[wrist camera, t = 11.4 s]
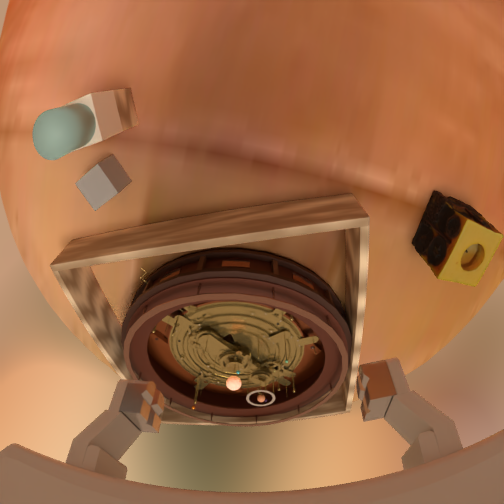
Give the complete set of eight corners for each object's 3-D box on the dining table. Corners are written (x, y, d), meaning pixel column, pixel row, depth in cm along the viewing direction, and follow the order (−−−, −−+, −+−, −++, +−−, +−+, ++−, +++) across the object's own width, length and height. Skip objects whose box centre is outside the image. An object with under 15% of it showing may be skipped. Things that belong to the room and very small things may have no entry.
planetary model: (230, 179, 41) (220, 214, 31) (380, 340, 58) (395, 384, 48) (89, 317, 57) (67, 359, 47) (235, 410, 74) (233, 448, 64)
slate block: (91, 172, 40) (75, 183, 36) (113, 153, 39) (97, 163, 34) (109, 197, 42) (95, 211, 38) (131, 180, 41) (118, 192, 37)
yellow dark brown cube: (432, 188, 40) (466, 216, 32) (472, 205, 41) (506, 233, 33) (409, 243, 45) (435, 279, 37) (449, 254, 46) (476, 288, 38)
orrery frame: (72, 240, 46) (49, 265, 39) (351, 193, 41) (369, 217, 34) (164, 398, 71) (158, 423, 64) (344, 385, 66) (350, 412, 59)
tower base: (97, 100, 34) (77, 104, 30) (130, 87, 34) (113, 89, 29) (106, 135, 37) (87, 143, 32) (139, 124, 37) (123, 131, 32)
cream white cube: (77, 104, 30) (52, 110, 25) (113, 89, 29) (90, 93, 24) (87, 143, 32) (64, 154, 28) (123, 131, 32) (102, 140, 27)
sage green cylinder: (55, 112, 25) (27, 120, 21) (89, 96, 25) (63, 101, 20) (66, 152, 28) (40, 166, 23) (100, 139, 27) (76, 151, 23)
